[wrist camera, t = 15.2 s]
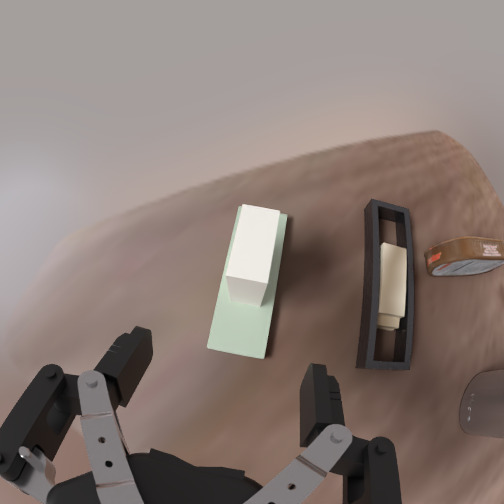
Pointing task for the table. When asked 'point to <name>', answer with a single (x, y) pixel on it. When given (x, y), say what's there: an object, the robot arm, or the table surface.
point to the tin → (464, 256)
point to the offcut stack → (391, 286)
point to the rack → (371, 288)
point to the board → (246, 309)
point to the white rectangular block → (252, 254)
